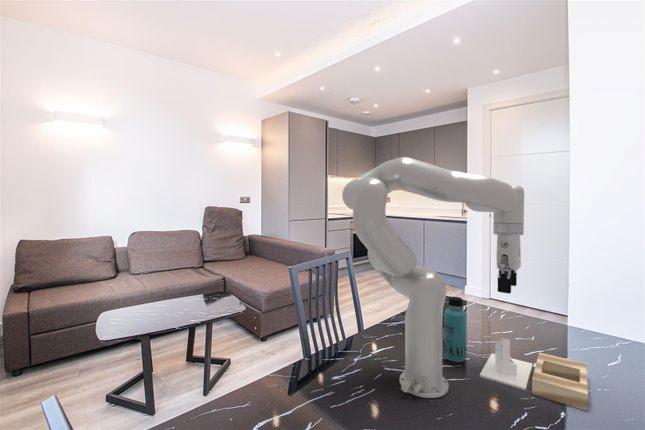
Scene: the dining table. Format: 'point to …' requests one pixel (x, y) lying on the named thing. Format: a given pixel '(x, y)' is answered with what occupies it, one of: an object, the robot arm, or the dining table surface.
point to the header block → (561, 380)
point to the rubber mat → (517, 381)
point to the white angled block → (504, 358)
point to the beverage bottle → (455, 331)
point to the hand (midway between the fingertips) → (507, 288)
